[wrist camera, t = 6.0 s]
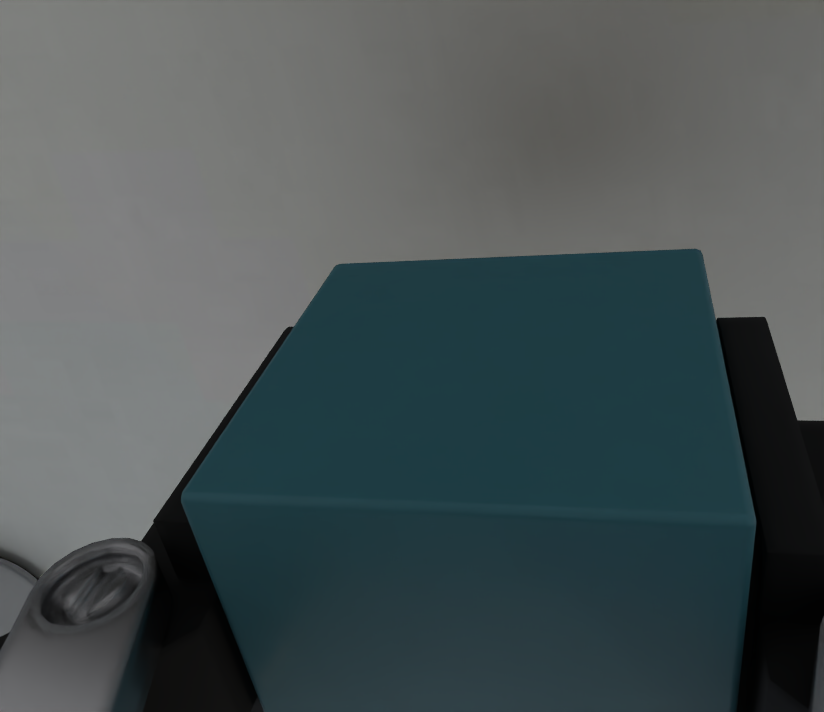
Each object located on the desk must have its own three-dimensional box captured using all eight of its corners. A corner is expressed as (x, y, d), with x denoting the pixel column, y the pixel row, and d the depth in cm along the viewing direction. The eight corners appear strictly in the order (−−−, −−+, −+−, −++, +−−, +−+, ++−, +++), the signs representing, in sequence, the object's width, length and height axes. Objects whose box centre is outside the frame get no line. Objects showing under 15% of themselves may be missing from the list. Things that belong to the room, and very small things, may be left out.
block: (702, 245, 9) (759, 521, 5) (689, 532, 12) (723, 862, 8) (334, 261, 10) (174, 496, 7) (390, 518, 13) (294, 798, 9)
